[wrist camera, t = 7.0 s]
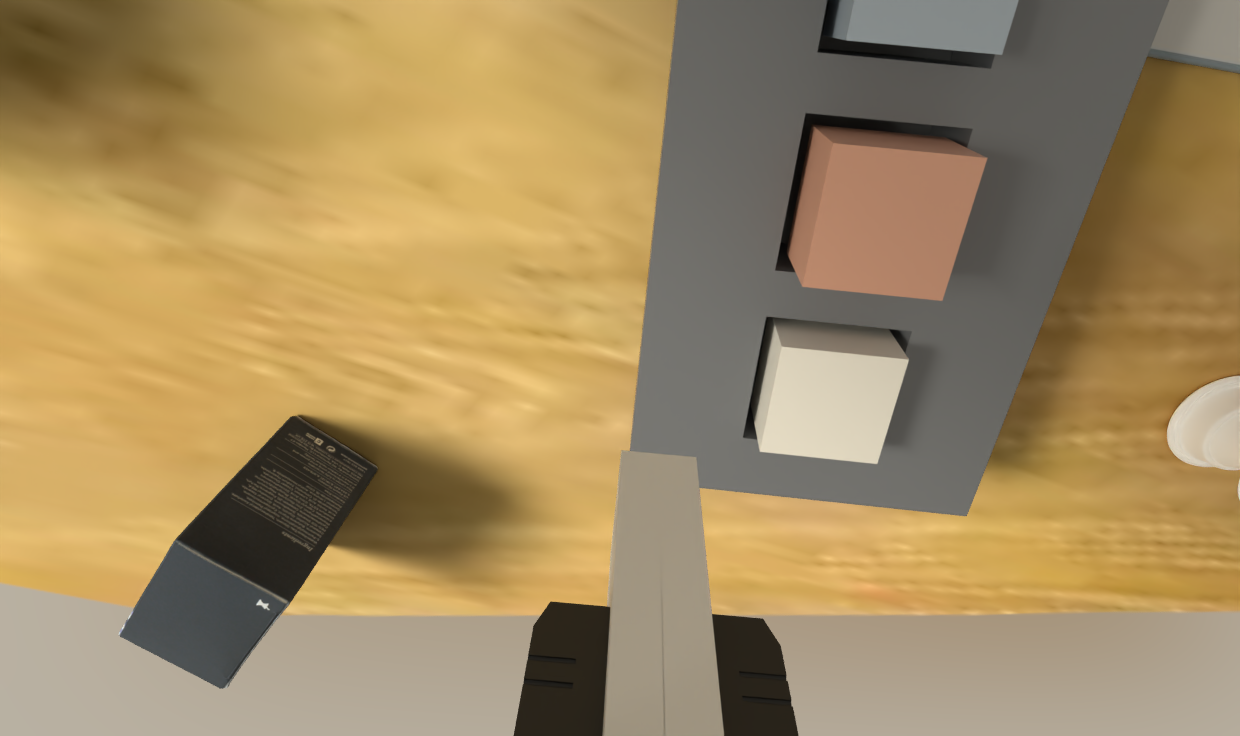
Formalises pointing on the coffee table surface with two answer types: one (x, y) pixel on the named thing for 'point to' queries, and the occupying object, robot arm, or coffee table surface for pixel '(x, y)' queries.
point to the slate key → (924, 23)
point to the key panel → (925, 329)
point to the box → (248, 553)
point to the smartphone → (1200, 34)
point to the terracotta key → (881, 211)
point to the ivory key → (826, 389)
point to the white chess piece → (1209, 426)
